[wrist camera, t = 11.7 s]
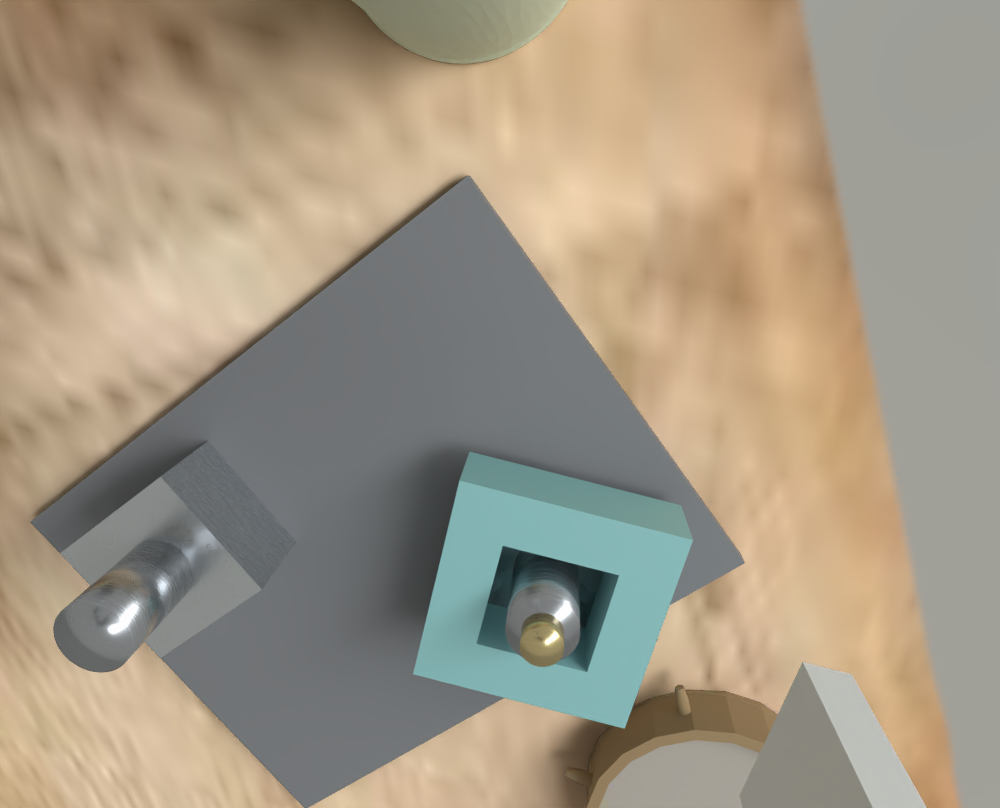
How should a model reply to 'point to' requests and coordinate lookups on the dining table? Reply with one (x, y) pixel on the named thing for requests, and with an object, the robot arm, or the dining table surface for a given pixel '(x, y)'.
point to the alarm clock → (678, 752)
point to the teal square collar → (567, 537)
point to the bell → (543, 603)
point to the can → (462, 25)
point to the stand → (169, 563)
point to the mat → (384, 483)
